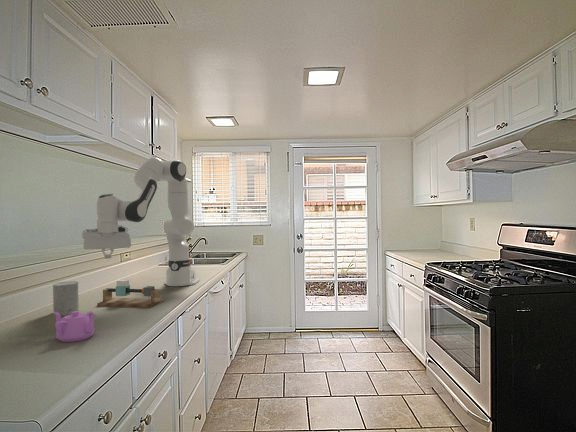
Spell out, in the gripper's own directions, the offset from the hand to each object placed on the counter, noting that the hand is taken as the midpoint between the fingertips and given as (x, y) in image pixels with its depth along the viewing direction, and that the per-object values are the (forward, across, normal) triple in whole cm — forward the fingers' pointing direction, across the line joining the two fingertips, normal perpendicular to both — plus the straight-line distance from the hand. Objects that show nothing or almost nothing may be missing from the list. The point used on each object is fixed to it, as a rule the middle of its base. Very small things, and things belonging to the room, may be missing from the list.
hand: (107, 258), depth 185 cm
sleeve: (+17, +6, -4) cm, 19 cm away
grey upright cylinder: (+21, -16, -10) cm, 29 cm away
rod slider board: (+21, +9, -7) cm, 24 cm away
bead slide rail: (+17, +9, -7) cm, 20 cm away
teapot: (+21, -12, -51) cm, 56 cm away
